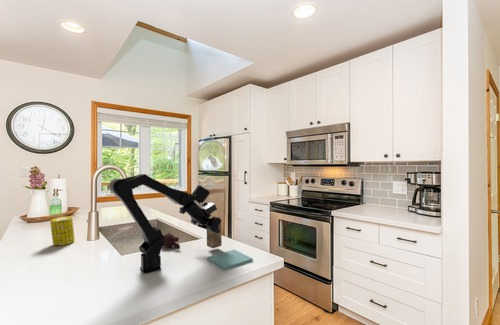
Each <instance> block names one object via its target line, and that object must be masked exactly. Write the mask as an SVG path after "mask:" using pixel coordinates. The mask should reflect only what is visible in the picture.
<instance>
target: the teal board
mask: <svg viewBox="0 0 500 325" xmlns="http://www.w3.org/2000/svg"><path fill="white" fill-rule="evenodd" d="M206 259H207V260H208V261H209V262H210V263H213V265H215V266H217V267H219V268H220V269H222V270H223V271H226V270H229V269H232V268H235V267H239V266H241V265H244V264H249V263H251V262H253V261H254V259H253V257H250V256H248V255H247V254H244V253H243V252H240V251H238V250H237V249H230V250H227V251H224V252H220V253H216V254H213V255H209V256H206Z"/></svg>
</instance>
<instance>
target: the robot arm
mask: <svg viewBox="0 0 500 325" xmlns="http://www.w3.org/2000/svg"><path fill="white" fill-rule="evenodd" d="M140 186H144V187H146V188H148V189H151V190H152V191H155V192H157V193H159V194H161V195H163V196H165V197H166V198H167V199H168V200H170V202H172V203H174V204H175V205H178V206H180V207H179V214H180V215H181V214H182V215H185V214H188V215H189V217H190V223H191V224H192V225H194V226H197V227H198V228H200V229H201V228H202V229H205V230H206V231H207V230H209V231H213V232H216V233H220V230H219V228H218V226H219V224H220V223H221V224H222V219H221V218H220V217H219V216H212V213H214V212H215V211H217V210H218V208H217V205H216V203H214V202H207V201H206V200H207V198H208V197H209V196H210V194H211V193H210V190H208V189H206V187H203V186H202V185H197V186H196V187H195V189H194V190H193V191H192V193H188V192H185V191H183V190H179V189H174V188H171V187H170V186H168V185H166V184H164V183H162V182H160V181H158V180H157V179H154V178H153V177H150V176H149V175H148V174H145V173H139V174H135V175H134V176H128V177H124V178H113V179H112V180H111V181H110V182H109V184H108V189H109V191H110V192H111V193H112V194H113V195H114V197H116V198H117V199H118V200H119V201H120V202H122V204H123V206H124V207H125V208H126V209H127V211H128V213H129V215H130V216H131V217H132V218H133V221H134V222H135V223H136V225H137V227H138V228H139V230H140V231H141V234H142V239H143V242H142V243H141V245H140V246H139V247H138V249H139V251H140V252H141V253H140V267H139V269H140V270H141V271H142V274H148V273H151V272H155V271H158V270H161V269H162V267H161V265H162V261H161V260H162V259H161V255H160V254H161V251H162V249H163V246H164V243H165V240H164V237H165V236H163V235H164V234H163V233H162V230H161V228H159V227H157V226H152V224H151V223H150V221H149V219H148V218H147V215H145V213H144V211H143V210H142V208H141V207H140V205H139V204H138V202H137V200H136V199H135V197H134V192H133V189H136V188H138V187H140ZM200 204H201V206H200Z"/></svg>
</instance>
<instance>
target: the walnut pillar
mask: <svg viewBox="0 0 500 325" xmlns="http://www.w3.org/2000/svg"><path fill="white" fill-rule="evenodd" d="M218 228H219V230H220V233H216V232H213V231H209V230H207V229H206V247H208V248H211V249H215V248H219V247H221V246H222V242H223V241H222V222H221V223H220V224H219V226H218Z"/></svg>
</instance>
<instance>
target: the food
mask: <svg viewBox="0 0 500 325" xmlns="http://www.w3.org/2000/svg"><path fill="white" fill-rule="evenodd" d="M50 230H51V240H52V245H54V246H65V245H69V244H72V243H74V242H75V241H76V240H75V238H76V237H75V228H74V222H73V217H72V216H62V215H60V217H59V216H57V217H55V218H54V217H53V218H52V219H50Z"/></svg>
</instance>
